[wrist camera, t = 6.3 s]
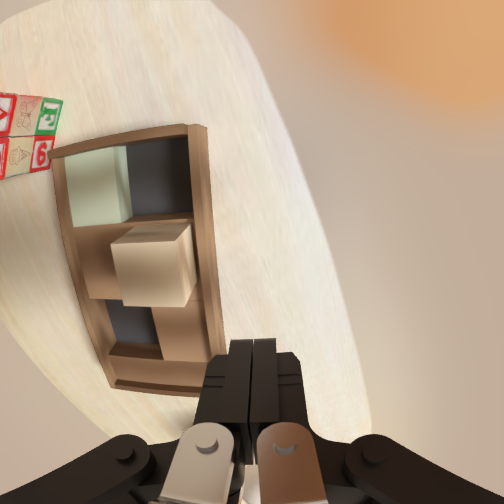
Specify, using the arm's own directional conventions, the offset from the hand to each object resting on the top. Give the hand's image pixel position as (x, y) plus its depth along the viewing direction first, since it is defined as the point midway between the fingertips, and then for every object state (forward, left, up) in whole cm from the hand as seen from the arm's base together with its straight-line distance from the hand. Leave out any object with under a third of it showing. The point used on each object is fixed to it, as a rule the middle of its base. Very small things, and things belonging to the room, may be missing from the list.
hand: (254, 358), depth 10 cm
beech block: (0, +6, -11) cm, 12 cm away
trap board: (-2, +9, -13) cm, 16 cm away
